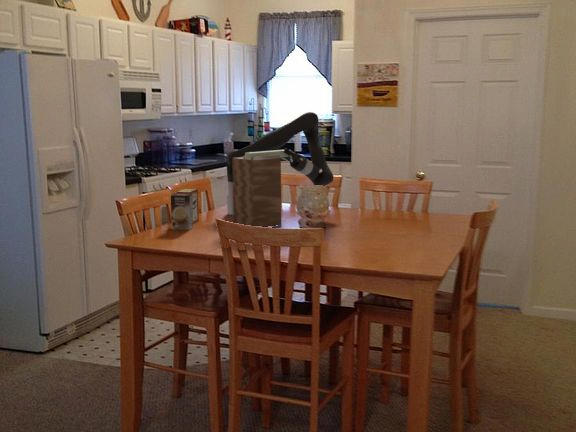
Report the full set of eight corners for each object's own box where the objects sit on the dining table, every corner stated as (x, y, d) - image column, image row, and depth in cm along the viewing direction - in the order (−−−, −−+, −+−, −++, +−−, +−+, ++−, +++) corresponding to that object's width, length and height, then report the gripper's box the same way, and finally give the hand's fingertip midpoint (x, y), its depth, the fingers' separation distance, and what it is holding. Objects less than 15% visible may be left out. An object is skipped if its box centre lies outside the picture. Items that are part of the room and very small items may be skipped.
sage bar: (245, 159, 290) (245, 152, 289) (285, 155, 305) (285, 149, 304) (250, 160, 287) (250, 153, 286) (291, 156, 302) (291, 150, 301)
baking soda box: (190, 224, 306) (189, 191, 303) (178, 223, 308) (176, 190, 305) (198, 220, 315) (197, 188, 312) (186, 220, 317) (185, 188, 314)
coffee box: (170, 229, 294) (169, 195, 291) (174, 227, 300) (173, 193, 297) (190, 230, 293) (189, 195, 290) (193, 227, 299) (192, 193, 296)
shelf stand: (233, 225, 303) (232, 154, 297) (260, 220, 313) (259, 152, 307) (254, 230, 291) (253, 157, 285) (281, 225, 301) (280, 154, 295)
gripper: (294, 156, 316) (272, 141, 305) (314, 158, 305) (292, 143, 294) (289, 170, 314) (266, 155, 304) (308, 172, 304) (285, 157, 293)
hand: (279, 149), depth 299 cm, fingers open, 8 cm apart
